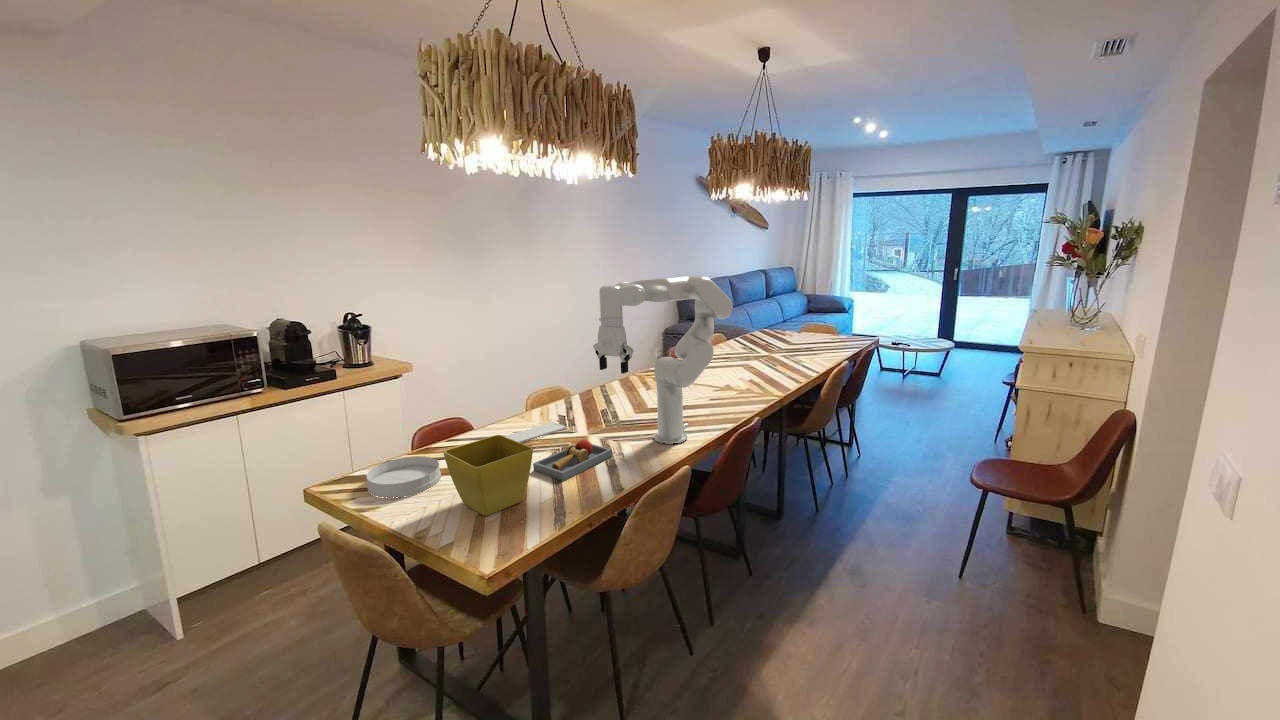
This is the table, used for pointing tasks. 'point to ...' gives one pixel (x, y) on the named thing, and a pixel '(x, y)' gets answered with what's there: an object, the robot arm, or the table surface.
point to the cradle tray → (571, 463)
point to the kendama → (575, 454)
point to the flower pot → (490, 472)
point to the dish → (403, 477)
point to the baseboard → (536, 432)
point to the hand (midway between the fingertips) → (613, 370)
